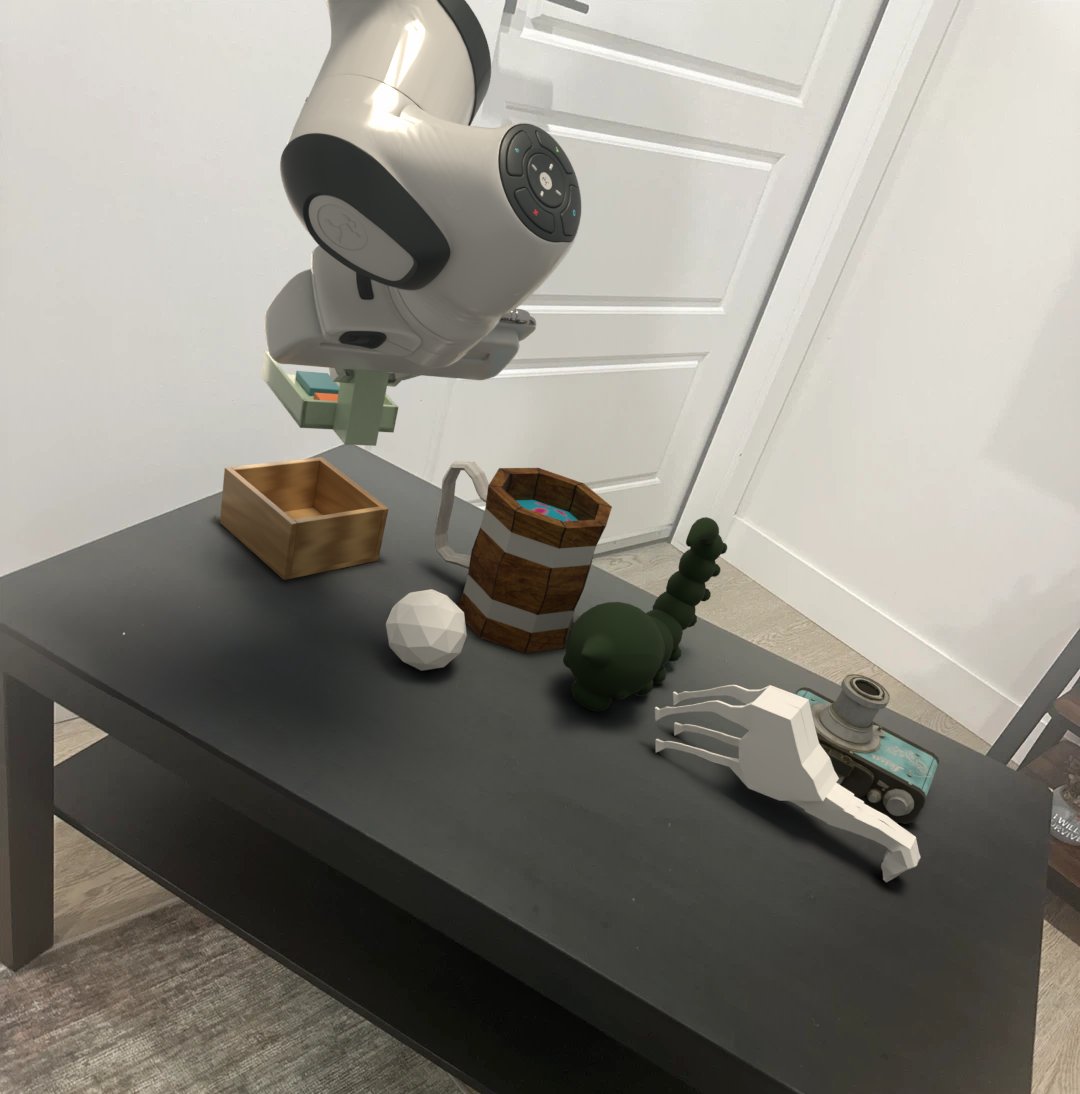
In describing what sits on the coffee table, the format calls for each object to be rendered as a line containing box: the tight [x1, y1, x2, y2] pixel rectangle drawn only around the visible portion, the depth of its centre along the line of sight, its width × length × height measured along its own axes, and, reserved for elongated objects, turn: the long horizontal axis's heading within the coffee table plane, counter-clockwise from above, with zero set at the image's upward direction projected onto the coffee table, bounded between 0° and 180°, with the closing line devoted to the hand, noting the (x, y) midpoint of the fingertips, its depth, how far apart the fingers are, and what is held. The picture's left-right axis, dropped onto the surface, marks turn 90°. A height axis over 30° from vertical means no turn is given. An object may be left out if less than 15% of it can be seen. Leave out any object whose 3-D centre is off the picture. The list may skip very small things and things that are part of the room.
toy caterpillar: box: [562, 516, 728, 713], centre depth 99 cm, size 9×19×25 cm
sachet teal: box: [295, 370, 339, 396], centre depth 92 cm, size 4×3×1 cm
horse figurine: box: [654, 684, 921, 883], centre depth 92 cm, size 5×16×25 cm
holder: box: [219, 456, 389, 581], centre depth 107 cm, size 12×12×7 cm
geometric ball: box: [385, 588, 468, 672], centre depth 95 cm, size 8×8×8 cm
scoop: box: [260, 350, 399, 447], centre depth 88 cm, size 14×9×10 cm, turn 30°
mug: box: [433, 460, 613, 654], centre depth 105 cm, size 20×14×15 cm
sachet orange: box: [313, 393, 338, 401], centre depth 89 cm, size 4×3×1 cm
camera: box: [794, 673, 940, 825], centre depth 100 cm, size 16×10×10 cm
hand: (361, 376), depth 84 cm, fingers closed on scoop, 3 cm apart
